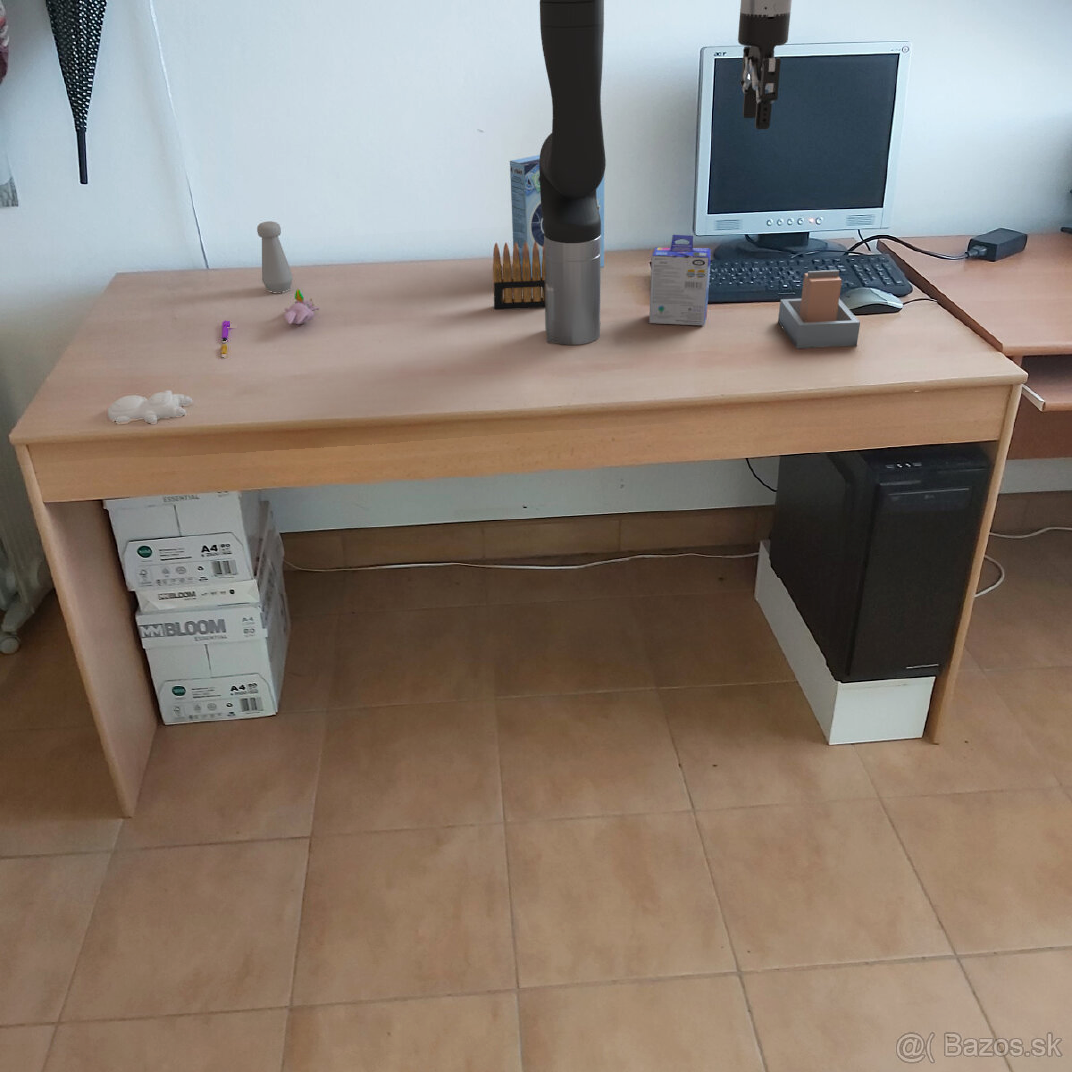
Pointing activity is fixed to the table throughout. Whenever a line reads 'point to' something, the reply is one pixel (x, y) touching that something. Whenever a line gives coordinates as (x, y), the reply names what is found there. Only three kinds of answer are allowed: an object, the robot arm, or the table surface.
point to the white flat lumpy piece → (148, 407)
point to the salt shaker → (273, 259)
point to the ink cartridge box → (679, 283)
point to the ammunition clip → (518, 279)
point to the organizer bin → (818, 327)
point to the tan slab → (820, 296)
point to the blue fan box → (535, 207)
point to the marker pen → (224, 336)
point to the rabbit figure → (300, 310)
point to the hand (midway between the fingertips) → (755, 123)
